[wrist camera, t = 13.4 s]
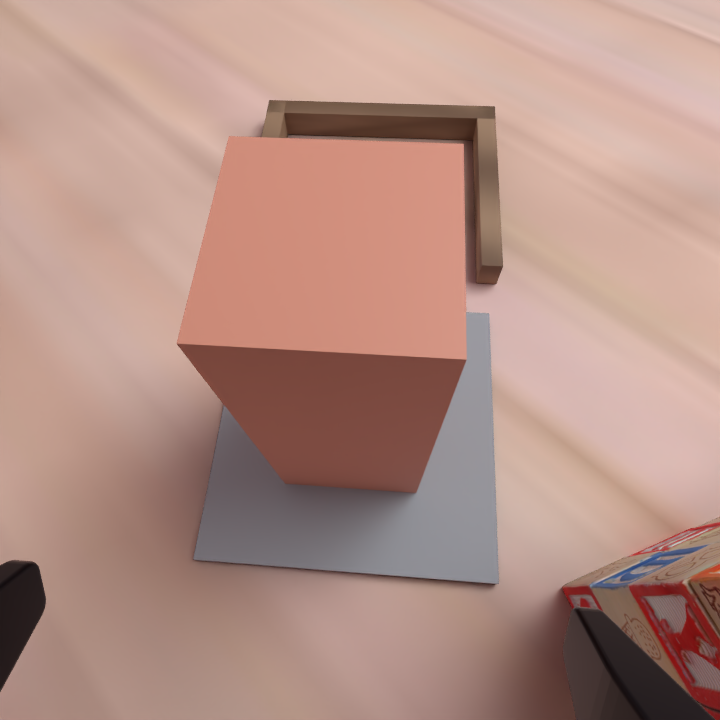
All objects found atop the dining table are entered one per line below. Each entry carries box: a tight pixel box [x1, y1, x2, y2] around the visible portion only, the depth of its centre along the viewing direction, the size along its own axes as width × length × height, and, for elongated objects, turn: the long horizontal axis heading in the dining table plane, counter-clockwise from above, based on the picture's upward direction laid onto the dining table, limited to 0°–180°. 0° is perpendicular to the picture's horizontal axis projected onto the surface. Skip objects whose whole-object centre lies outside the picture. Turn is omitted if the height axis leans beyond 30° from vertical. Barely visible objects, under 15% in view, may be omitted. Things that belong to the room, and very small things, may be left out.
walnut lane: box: [262, 100, 503, 284], centre depth 28 cm, size 11×13×2 cm
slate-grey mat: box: [193, 312, 499, 584], centre depth 23 cm, size 12×12×1 cm
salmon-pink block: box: [177, 136, 467, 493], centre depth 17 cm, size 6×6×13 cm
